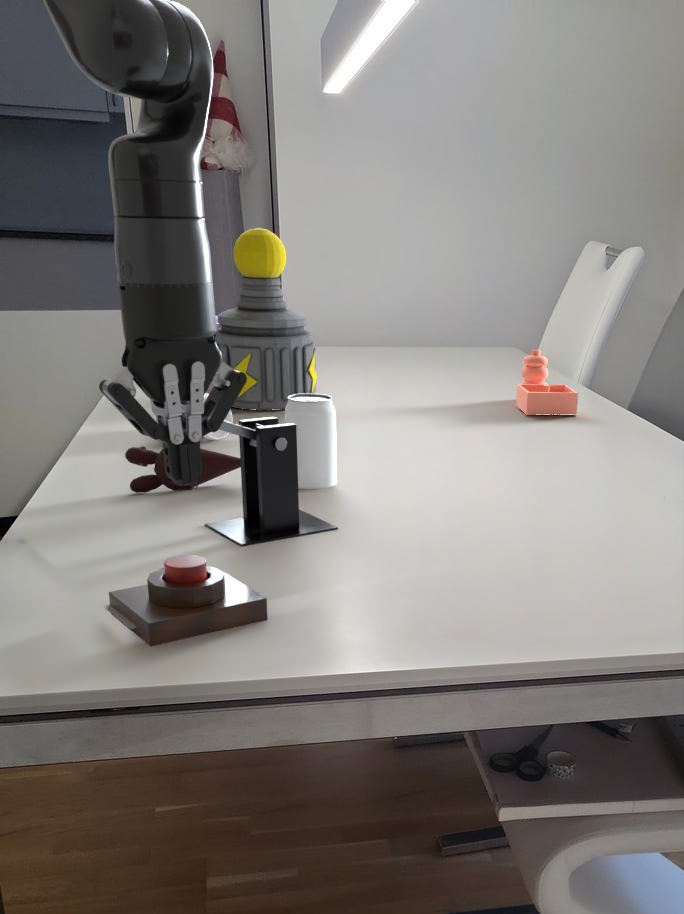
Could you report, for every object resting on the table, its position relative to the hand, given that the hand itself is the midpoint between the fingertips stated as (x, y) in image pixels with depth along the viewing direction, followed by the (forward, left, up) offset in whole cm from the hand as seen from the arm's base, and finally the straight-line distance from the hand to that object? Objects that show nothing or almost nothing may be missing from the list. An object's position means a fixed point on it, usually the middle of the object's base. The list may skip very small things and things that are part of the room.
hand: (184, 483), depth 91 cm
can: (+30, +31, -12) cm, 45 cm away
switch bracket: (+16, +16, -12) cm, 25 cm away
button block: (-2, -2, -12) cm, 12 cm away
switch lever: (+12, +16, 0) cm, 19 cm away
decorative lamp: (+54, +89, -12) cm, 105 cm away
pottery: (+98, +62, -12) cm, 117 cm away
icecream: (+16, +38, -12) cm, 43 cm away
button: (-2, -2, -8) cm, 8 cm away
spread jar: (+32, +69, -12) cm, 77 cm away
